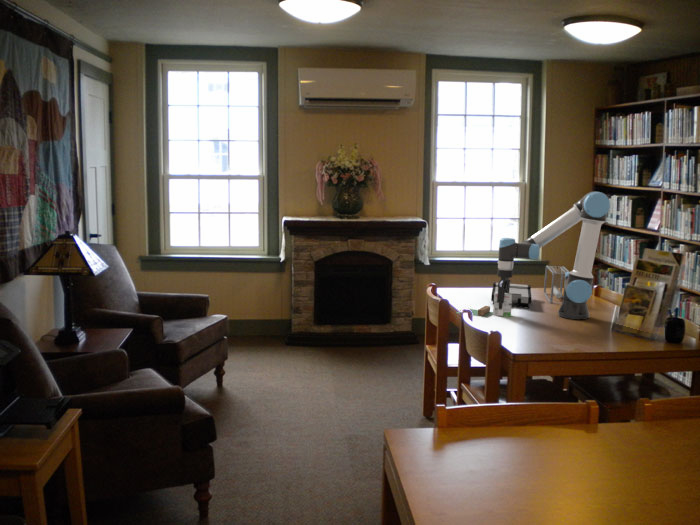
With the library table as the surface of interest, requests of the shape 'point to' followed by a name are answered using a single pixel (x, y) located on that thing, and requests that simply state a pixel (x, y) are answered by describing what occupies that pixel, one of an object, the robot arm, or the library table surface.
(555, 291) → the newton's cradle
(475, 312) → the felt mat
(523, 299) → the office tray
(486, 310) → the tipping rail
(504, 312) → the ink box
